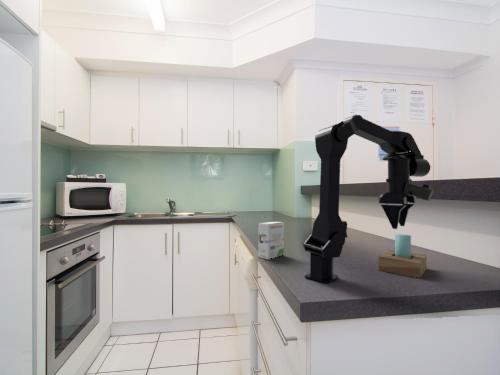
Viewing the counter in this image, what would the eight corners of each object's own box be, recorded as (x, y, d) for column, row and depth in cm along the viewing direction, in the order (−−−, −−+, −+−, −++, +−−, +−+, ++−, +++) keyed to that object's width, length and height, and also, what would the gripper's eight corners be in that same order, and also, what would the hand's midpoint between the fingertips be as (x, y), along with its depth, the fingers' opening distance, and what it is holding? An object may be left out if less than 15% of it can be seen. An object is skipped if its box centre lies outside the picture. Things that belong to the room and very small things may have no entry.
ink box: (273, 253, 92) (273, 220, 92) (284, 255, 89) (284, 222, 89) (257, 257, 86) (257, 222, 86) (268, 260, 83) (268, 223, 83)
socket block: (420, 278, 66) (420, 263, 66) (378, 270, 73) (378, 256, 73) (426, 268, 75) (426, 255, 75) (389, 262, 82) (389, 249, 82)
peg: (409, 272, 71) (409, 236, 72) (393, 269, 74) (393, 235, 74) (412, 269, 74) (412, 235, 75) (396, 266, 77) (396, 233, 77)
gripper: (425, 172, 64) (426, 233, 64) (435, 176, 78) (435, 227, 78) (378, 174, 72) (378, 229, 71) (394, 177, 85) (395, 223, 85)
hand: (398, 227), depth 76 cm, fingers open, 9 cm apart
